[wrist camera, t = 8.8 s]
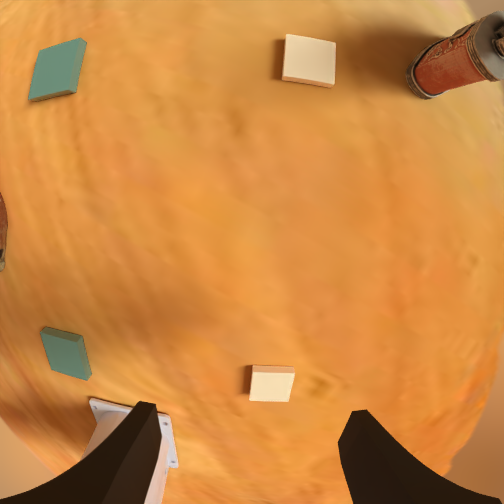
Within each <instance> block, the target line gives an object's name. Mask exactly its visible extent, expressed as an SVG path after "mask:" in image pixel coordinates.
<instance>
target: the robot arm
mask: <svg viewBox="0 0 504 504" xmlns="http://www.w3.org/2000/svg"><path fill="white" fill-rule="evenodd" d="M89 403H90V406H91V409H92V411H93V414H94V417H95V419H96V422H97V426H96V428H95V430H94V433H93V435H92V437H91V439H90V441H89V443H88V445H87V447H86V449H85V451H84V454H83V456H82V458H81V460H80V462H78V463H77V464H76V465H74V466H73V467H71V468H70V469H69V470H67V471H65V472H64V473H62V474H61V475H59V476H57V477H56V478H54V479H52V480H50V481H49V482H47V483H44V484H42V485H40V486H38V487H36V488H34V489H31V490H29V491H26V492H24V493H21V494H17V495H14V496H11V497H7V498H3V499H0V504H161V503H162V498H163V493H164V488H165V483H166V478H167V474H168V469H169V467H172V468H178V465H179V463H178V458H177V453H176V448H175V442H174V436H173V430H172V424H171V418H170V417H169V416H168V415H166V414H161V413H157V408H156V404H153V403H148V402H142V401H139V402H138V403H137V404H136V405H135V406H134V408H131V407H126V406H122V405H118V404H114V403H110V402H106V401H102V400H99V399H95V398H91V399H90V400H89ZM338 447H339V454H340V460H341V465H342V468H343V471H344V475H345V478H346V481H347V484H348V488H349V491H350V494H351V497H352V501H353V504H502V503H501V501H500V499H499V498H495V497H490V496H486V495H482V494H479V493H476V492H473V491H471V490H468V489H465V488H463V487H461V486H459V485H456V484H455V483H453V482H451V481H449V480H447V479H445V478H443V477H442V476H440V475H438V474H437V473H435V472H434V471H432V470H431V469H429V468H428V467H427V466H425V465H424V464H423V463H421V462H420V461H419V460H418V459H416V458H415V457H414V456H413V455H412V454H410V453H409V452H408V451H407V450H406V449H405V448H404V447H403V446H402V445H400V444H399V443H398V442H397V441H396V440H395V439H394V438H393V437H392V436H391V435H390V434H389V433H388V432H387V431H386V430H385V428H384V427H383V426H382V425H381V424H380V423H379V422H378V421H377V420H376V419H375V418H374V417H373V416H372V415H371V414H370V413H369V412H368V411H367V410H359V411H352V413H351V415H350V418H349V420H348V422H347V424H346V426H345V428H344V430H343V432H342V435H341V437H340V439H339V441H338Z"/></svg>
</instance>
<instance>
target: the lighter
mask: <svg viewBox="0 0 504 504" xmlns="http://www.w3.org/2000/svg"><path fill="white" fill-rule="evenodd" d="M503 79H504V11H496V12H494V13H492V14H490V15H488V16H485V17H483V18H481V19H480V20H477V21H475V22H473V23H471V24H469V25H467V26H465V27H463V28H461V29H459V30H457V31H456V32H455V33H454V34H453V35H452V36H450V37H446V38H443V39H440V40H439V41H437V42H435V43H433V44H431V45H430V46H428V47H426V48H425V49H424V50H422V51H421V52H420V53H419V54H418V55H417V56H416V57H415V58H414V60H413V61H412V63H411V64H410V66H409V67H408V68H407V70H406V80H407V83H408V85H409V87H410V88H411V90H412V91H413V92H414V93H415V94H416V95H417V96H418V97H420V98H422V99H425V100H427V99H431V98H435V97H437V96H439V95H441V94H443V93H445V92H447V91H449V90H451V89H454V88H458V87H461V86H465V85H468V84H472V83H476V82H479V81H483V80H489V81H490V82H495V81H499V80H503Z"/></svg>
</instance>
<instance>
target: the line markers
mask: <svg viewBox="0 0 504 504" xmlns="http://www.w3.org/2000/svg"><path fill="white" fill-rule="evenodd" d="M86 44H87V42H86V41H84V40H83V39H81V38H78V39H75V40H71V41H68V42H64V43H61V44H58V45H55V46H52V47H49V48H46V49H43V50H40V51H39V53H38V57H37V61H36V65H35V69H34V73H33V77H32V82H31V87H30V92H29V97H28V100H32V101H40V100H44V99H48V98H52V97H57V96H61V95H66V94H71V93H76V90H77V84H78V79H79V74H80V69H81V65H82V60H83V56H84V52H85V48H86ZM335 58H336V43H334V42H330V41H325V40H320V39H315V38H310V37H304V36H298V35H291V34H286V37H285V43H284V56H283V69H282V80H285V81H292V82H299V83H306V84H312V85H317V86H323V87H328V88H331V87H332V86H334V85H335ZM40 334H41V338H42V341H43V345H44V348H45V351H46V354H47V357H48V361H49V364H50V366H51V369H52V370H54V371H57V372H60V373H63V374H66V375H69V376H72V377H76V378H79V379H83V380H86V381H88V379H89V378H90V376H91V374H92V373H91V369H90V365H89V362H88V358H87V354H86V350H85V345H84V341H83V337H82V336H81V335H76V334H72V333H68V332H64V331H60V330H56V329H53V328H49V327H45V328H44V329H43V330H42V331H41V332H40ZM294 375H295V371H294V367H293V366H261V365H253V367H252V375H251V383H250V391H249V400H250V401H288V400H289V396H290V392H291V388H292V384H293V379H294Z"/></svg>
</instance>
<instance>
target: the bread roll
mask: <svg viewBox="0 0 504 504" xmlns="http://www.w3.org/2000/svg"><path fill="white" fill-rule="evenodd" d="M7 226H8V225H7V212H6V207H5V203H4V201H3V198H2V196H1V193H0V272H1V271H2V270H3V268H4V264H5V262H4V256H5V249H6V231H7Z"/></svg>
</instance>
